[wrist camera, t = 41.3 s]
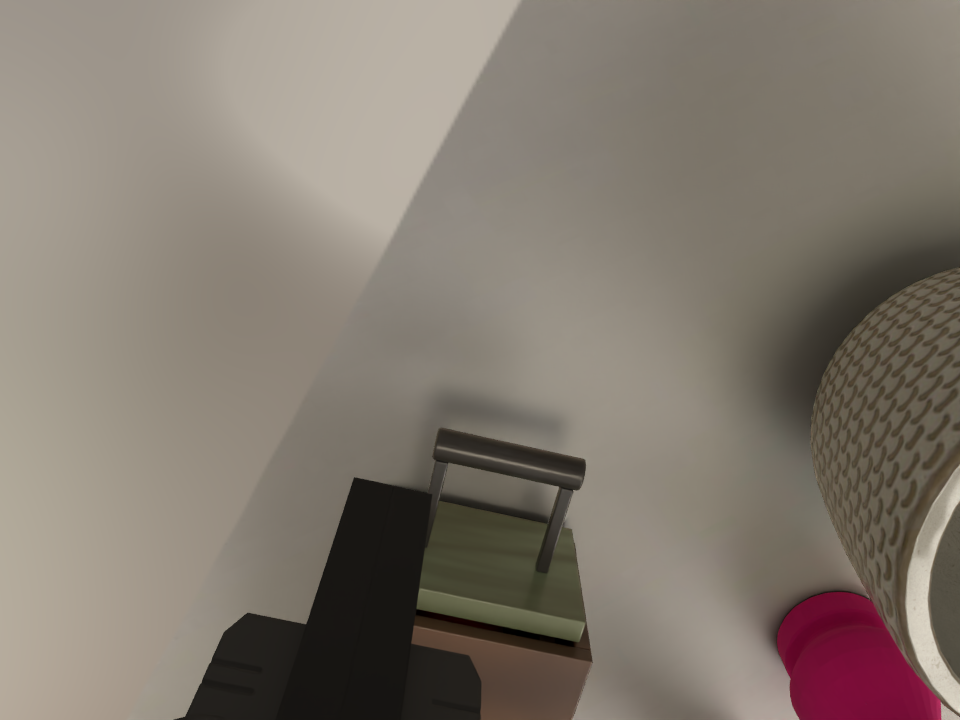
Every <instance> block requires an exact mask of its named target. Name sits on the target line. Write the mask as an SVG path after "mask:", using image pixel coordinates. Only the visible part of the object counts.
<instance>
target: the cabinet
mask: <svg viewBox="0 0 960 720" xmlns="http://www.w3.org/2000/svg"><path fill="white" fill-rule="evenodd" d="M574 547H575V543H574ZM575 554H576V549H575ZM576 561H577V557H576ZM577 567H578V563H577ZM578 574H579V570H578ZM579 580H580V576H579ZM580 587H581V583H580ZM581 594H582V589H581ZM582 600H583V596H582ZM583 607H584V602H583ZM584 614H585V609H584ZM585 620H586V616H585ZM554 638H555V637H554ZM411 644H415V645H420V646H425V647H430V648H435V649H440V650H445V651H450V652H455V653H460V654H465V655H469V656H470V658H471V660H472V662H473V664H474V666H475V668H476V671H477V673H478V675H479V677H480V679H481V681H482V687H481V711H480V714H481V720H572V719H573V716H574V713H575V711H576V708H577V705H578V702H579V699H580V697H581V694H582V691H583V688H584V685H585V682H586V680H587V677H588V674H589V671H590V668H591V666H592V663H593V662H592V655H591V648H590V642H589V635H588V629H587V622H586V624H585V627H584V630H583V633H582V636H581V639H580V641H579V642H575V641H570V640H565V639H560V638H555V643H550V642H545V641H541V640H536V639H531V638H526V637H521V636H516V635H511V634H506V633H502V632H497V631H492V630H487V629H482V628H477V627H472V626H467V625H463V624H458V623H453V622H448V621H443V620H438V619H433V618H428V617H424V616H419V615H415V621H414V628H413V635H412V642H411Z"/></svg>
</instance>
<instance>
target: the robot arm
mask: <svg viewBox="0 0 960 720" xmlns="http://www.w3.org/2000/svg"><path fill="white" fill-rule="evenodd" d="M431 501H432V494H430V493H425V492H420V491H416V490H411V489H406V488H402V487H397V486H392V485H388V484H383V483H379V482H374V481H369V480H365V479H360V478H355V477H354V479H353V483H352V486H351V489H350V492H349V495H348V498H347V501H346V504H345V507H344V510H343V513H342V516H341V519H340V523H339V526H338V529H337V532H336V535H335V538H334V541H333V544H332V547H331V550H330V553H329V556H328V559H327V563H326V566H325V569H324V572H323V575H322V578H321V581H320V584H319V587H318V590H317V593H316V596H315V599H314V603H313V606H312V609H311V612H310V615H309V618H308V621H307V624H301V623H296V622H291V621H286V620H281V619H276V618H271V617H266V616H261V615H257V614H252V613H247V614H245V615H244V616H243V617H242V618H240V619H239V620H238V621H237V622H236V623H234V624H233V625H232V626H231V627H230V628H228V629H227V630H226V631H225V632H224V633H223V636H222V638H221V640H220V642H219V644H218V646H217V649H216V651H215V653H214V655H213V657H212V661H211V663H210V664H209V666H208V668H207V670H206V673H205V675H204V677H203V680H202V683H201V684H200V686H199V688H198V690H197V692H196V694H195V697H194V699H193V701H192V703H191V705H190V707H189V710H188V712H187V714H186V716H185V717H182V718H179V719H175V720H481V714H480V711H481V687H482V681H481V679H480V677H479V675H478V673H477V671H476V668H475V666H474V664H473V662H472V660H471V658H470V656H469V655H465V654H460V653H455V652H450V651H445V650H440V649H435V648H430V647H425V646H420V645H415V644H411V642H412V635H413V628H414V621H415V614H416V607H417V600H418V593H419V586H420V579H421V572H422V565H423V558H424V551H425V544H426V537H427V530H428V522H429V515H430V508H431Z"/></svg>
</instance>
